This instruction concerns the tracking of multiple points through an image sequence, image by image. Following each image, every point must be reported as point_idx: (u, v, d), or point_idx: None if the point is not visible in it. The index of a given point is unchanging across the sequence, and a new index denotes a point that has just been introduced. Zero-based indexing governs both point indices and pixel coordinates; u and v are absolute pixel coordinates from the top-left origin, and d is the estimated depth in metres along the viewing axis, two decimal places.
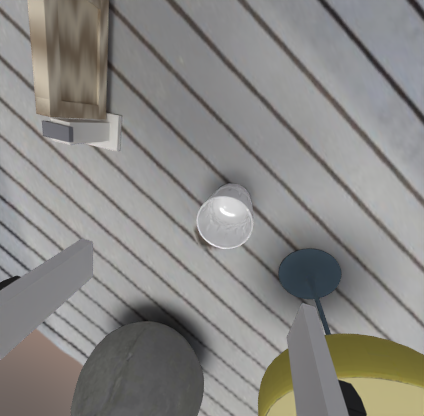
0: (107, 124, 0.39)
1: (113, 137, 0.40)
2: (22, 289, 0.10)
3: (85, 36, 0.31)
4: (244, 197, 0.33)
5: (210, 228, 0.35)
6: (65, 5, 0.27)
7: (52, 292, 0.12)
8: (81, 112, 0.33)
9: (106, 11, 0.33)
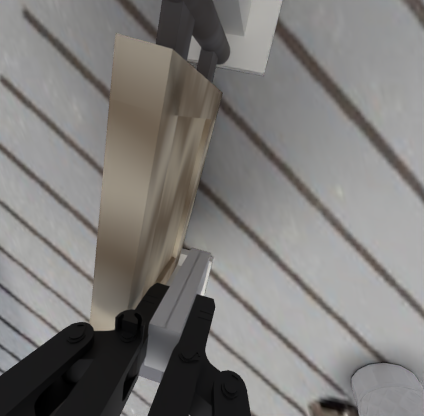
0: None
1: None
2: (180, 295, 0.11)
3: (183, 177, 0.16)
4: None
5: None
6: (173, 153, 0.12)
7: None
8: None
9: (215, 116, 0.18)
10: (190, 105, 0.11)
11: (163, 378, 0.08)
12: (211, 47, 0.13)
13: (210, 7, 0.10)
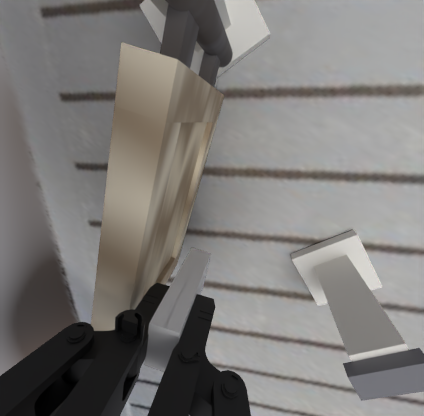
0: (350, 260, 0.20)
1: (364, 270, 0.21)
2: (180, 295, 0.11)
3: (184, 179, 0.16)
4: None
5: None
6: (175, 157, 0.12)
7: None
8: None
9: (216, 119, 0.18)
10: (193, 111, 0.11)
11: (163, 378, 0.08)
12: (214, 51, 0.13)
13: (214, 14, 0.10)
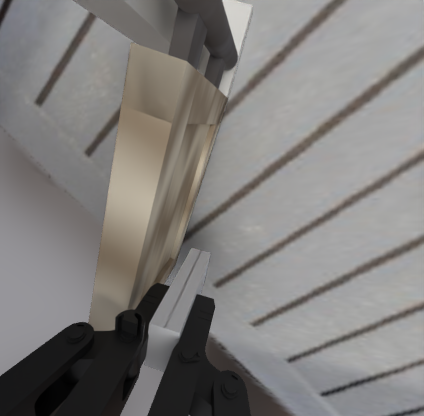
0: None
1: None
2: (180, 295, 0.11)
3: (186, 180, 0.16)
4: None
5: None
6: (178, 158, 0.12)
7: None
8: None
9: (219, 121, 0.18)
10: (198, 112, 0.11)
11: (163, 378, 0.08)
12: (220, 54, 0.13)
13: (223, 18, 0.10)
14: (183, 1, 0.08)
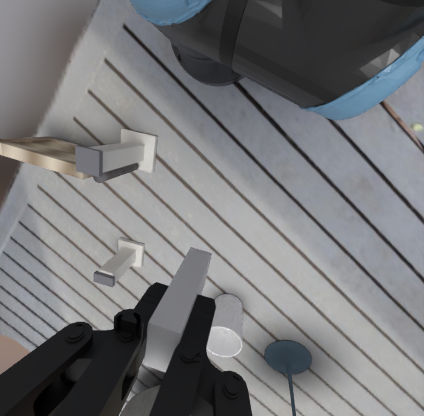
0: (134, 252, 0.52)
1: (138, 259, 0.53)
2: (179, 295, 0.11)
3: None
4: (236, 319, 0.46)
5: (212, 336, 0.49)
6: None
7: None
8: None
9: None
10: None
11: (164, 378, 0.08)
12: None
13: None
14: None
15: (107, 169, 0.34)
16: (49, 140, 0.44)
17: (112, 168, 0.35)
